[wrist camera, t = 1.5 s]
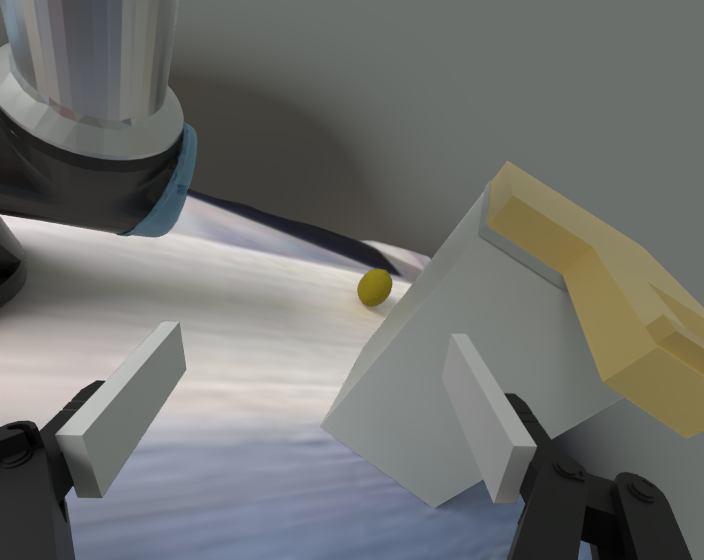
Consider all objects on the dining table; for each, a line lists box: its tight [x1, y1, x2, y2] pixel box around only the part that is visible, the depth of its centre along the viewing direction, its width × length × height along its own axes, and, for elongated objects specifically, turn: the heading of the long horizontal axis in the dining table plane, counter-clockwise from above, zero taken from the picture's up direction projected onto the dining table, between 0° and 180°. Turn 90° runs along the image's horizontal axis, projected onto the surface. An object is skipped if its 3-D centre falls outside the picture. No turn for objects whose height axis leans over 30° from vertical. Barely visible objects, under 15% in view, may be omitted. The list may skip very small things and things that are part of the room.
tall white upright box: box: [320, 181, 623, 508], centre depth 38 cm, size 16×16×30 cm
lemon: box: [357, 269, 392, 306], centre depth 60 cm, size 6×6×8 cm
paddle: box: [488, 161, 704, 439], centre depth 25 cm, size 27×16×3 cm, turn 157°
